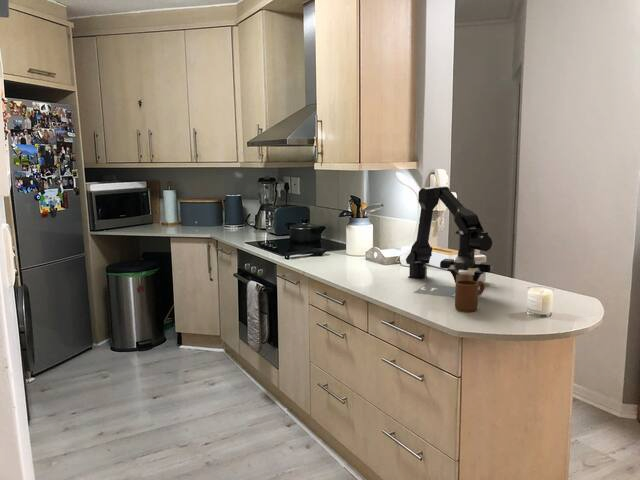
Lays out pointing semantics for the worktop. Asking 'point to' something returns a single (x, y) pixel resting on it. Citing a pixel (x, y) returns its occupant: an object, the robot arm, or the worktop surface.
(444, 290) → the mat
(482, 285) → the mug
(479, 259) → the ink box
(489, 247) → the robot arm
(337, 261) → the worktop surface
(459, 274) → the walnut cube
